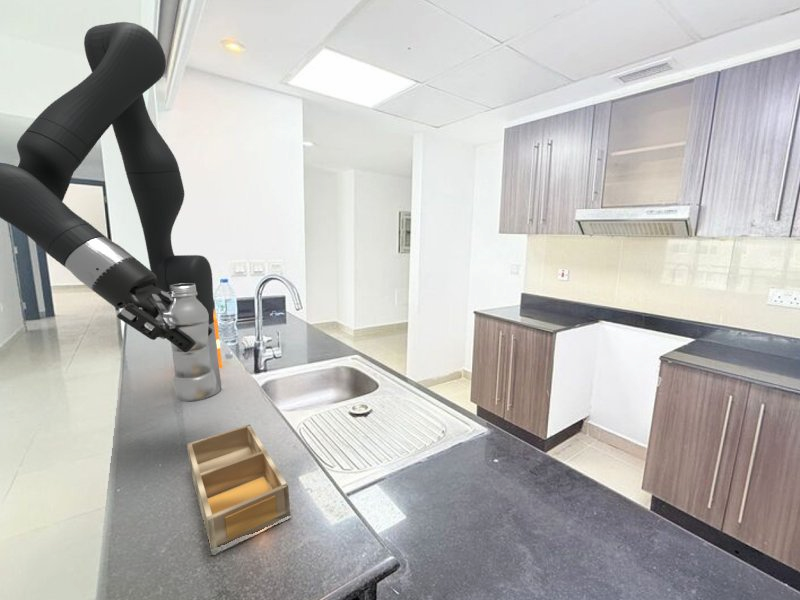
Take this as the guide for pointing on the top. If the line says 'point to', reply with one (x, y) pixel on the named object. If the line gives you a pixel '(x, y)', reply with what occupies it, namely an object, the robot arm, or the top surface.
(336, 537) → the top surface
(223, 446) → the tray
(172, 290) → the plastic bottle
